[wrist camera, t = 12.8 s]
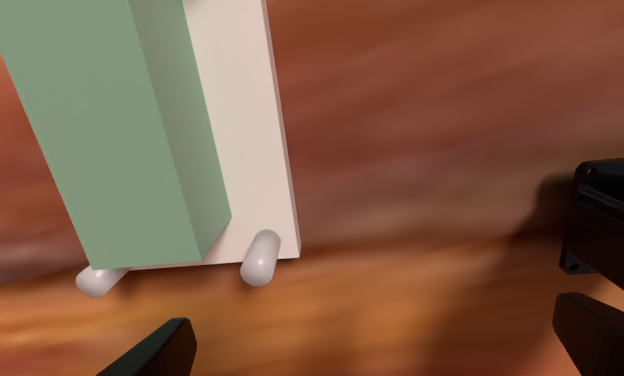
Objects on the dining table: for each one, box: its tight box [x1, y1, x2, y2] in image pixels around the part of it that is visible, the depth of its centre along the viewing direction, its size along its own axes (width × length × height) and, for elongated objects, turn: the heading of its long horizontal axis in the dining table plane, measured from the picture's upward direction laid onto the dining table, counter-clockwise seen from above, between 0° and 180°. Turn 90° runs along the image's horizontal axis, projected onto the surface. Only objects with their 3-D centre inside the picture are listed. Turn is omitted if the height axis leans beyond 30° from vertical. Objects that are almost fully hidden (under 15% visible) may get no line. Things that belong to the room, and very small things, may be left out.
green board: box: [0, 0, 232, 270], centre depth 14 cm, size 5×12×4 cm, turn 7°
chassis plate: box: [76, 0, 301, 298], centre depth 15 cm, size 12×18×4 cm, turn 7°
